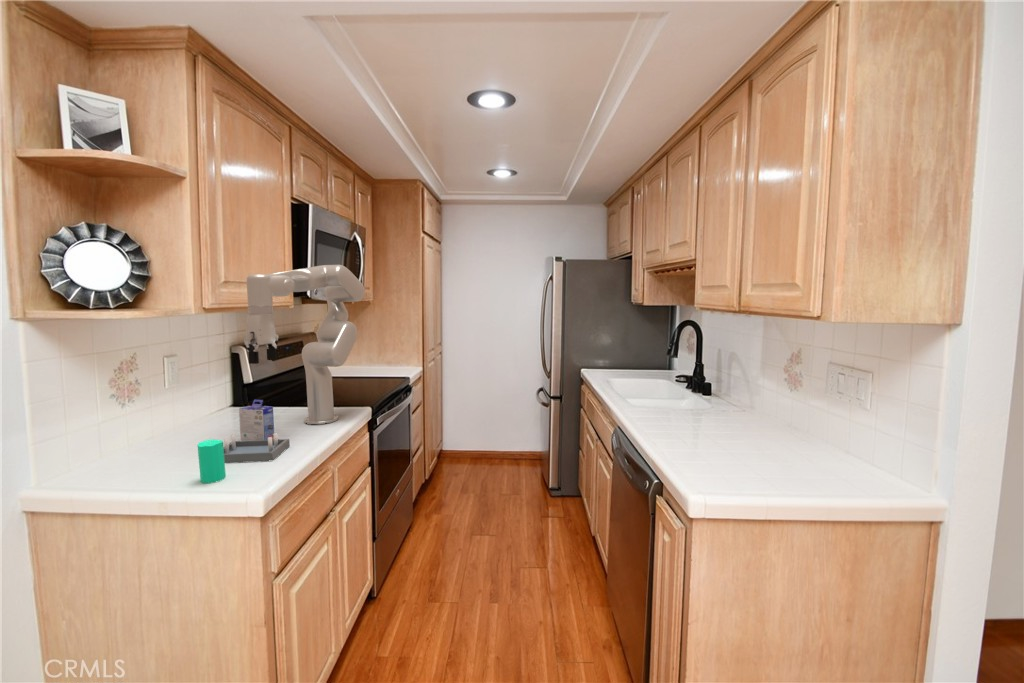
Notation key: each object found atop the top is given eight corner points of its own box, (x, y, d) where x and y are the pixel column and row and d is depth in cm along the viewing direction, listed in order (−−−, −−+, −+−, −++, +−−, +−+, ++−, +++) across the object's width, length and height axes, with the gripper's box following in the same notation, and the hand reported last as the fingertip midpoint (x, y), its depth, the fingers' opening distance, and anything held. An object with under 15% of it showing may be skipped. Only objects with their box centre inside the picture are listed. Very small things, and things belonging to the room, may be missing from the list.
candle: (199, 478, 138) (196, 436, 136) (224, 473, 141) (221, 432, 140) (201, 485, 133) (197, 441, 132) (227, 479, 136) (223, 437, 135)
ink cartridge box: (276, 439, 172) (273, 399, 171) (265, 444, 167) (262, 403, 165) (251, 438, 174) (248, 398, 173) (240, 443, 169) (236, 402, 167)
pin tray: (233, 448, 163) (232, 431, 163) (289, 446, 165) (288, 428, 164) (211, 463, 149) (209, 444, 149) (272, 461, 151) (271, 442, 150)
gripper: (266, 310, 175) (268, 358, 176) (232, 311, 158) (235, 364, 159) (285, 310, 174) (288, 358, 176) (254, 311, 157) (257, 365, 158)
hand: (263, 361), depth 167 cm, fingers open, 9 cm apart
